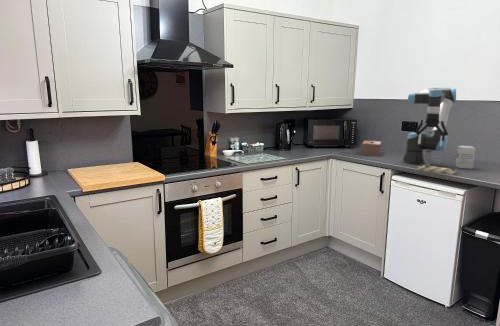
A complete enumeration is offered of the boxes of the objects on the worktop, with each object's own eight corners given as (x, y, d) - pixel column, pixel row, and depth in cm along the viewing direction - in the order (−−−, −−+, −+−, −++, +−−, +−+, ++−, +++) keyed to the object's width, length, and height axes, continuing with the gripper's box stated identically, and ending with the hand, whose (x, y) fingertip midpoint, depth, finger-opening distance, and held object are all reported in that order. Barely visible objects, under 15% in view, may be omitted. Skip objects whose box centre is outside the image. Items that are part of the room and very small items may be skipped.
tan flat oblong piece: (417, 169, 238) (418, 165, 237) (422, 167, 245) (422, 163, 245) (452, 174, 224) (452, 169, 223) (456, 172, 231) (456, 167, 230)
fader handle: (424, 166, 237) (426, 150, 235) (426, 165, 240) (428, 150, 238) (428, 167, 236) (430, 151, 234) (430, 166, 239) (432, 150, 237)
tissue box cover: (378, 156, 292) (379, 144, 290) (360, 155, 298) (361, 143, 296) (380, 152, 315) (381, 141, 313) (364, 151, 321) (365, 140, 319)
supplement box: (455, 165, 255) (457, 145, 252) (469, 166, 252) (471, 146, 249) (458, 168, 246) (461, 147, 243) (473, 168, 244) (476, 147, 241)
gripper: (411, 112, 237) (408, 143, 241) (452, 114, 220) (448, 147, 224) (415, 112, 242) (412, 142, 246) (455, 113, 225) (451, 146, 229)
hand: (429, 144), depth 235 cm, fingers open, 13 cm apart
